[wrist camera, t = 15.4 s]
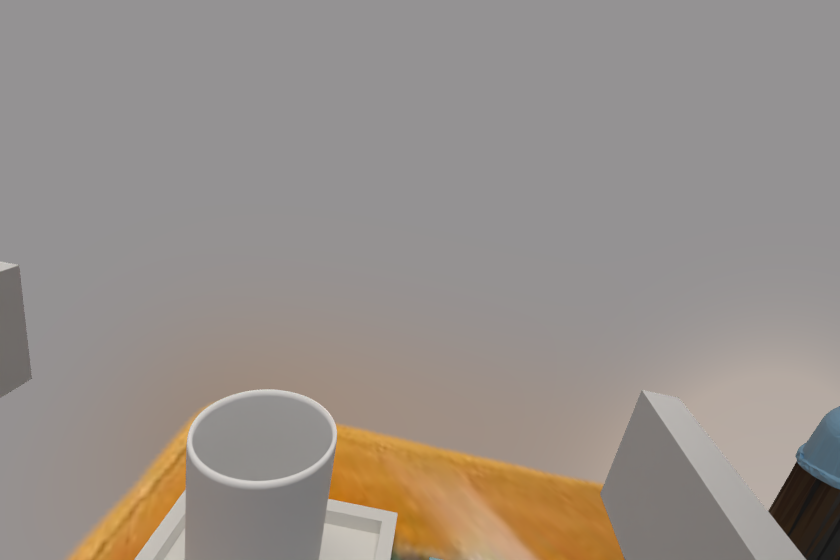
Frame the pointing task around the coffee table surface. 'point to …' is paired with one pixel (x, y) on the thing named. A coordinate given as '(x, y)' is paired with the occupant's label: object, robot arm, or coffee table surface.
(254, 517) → the cup
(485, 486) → the coffee table surface
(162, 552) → the tray
